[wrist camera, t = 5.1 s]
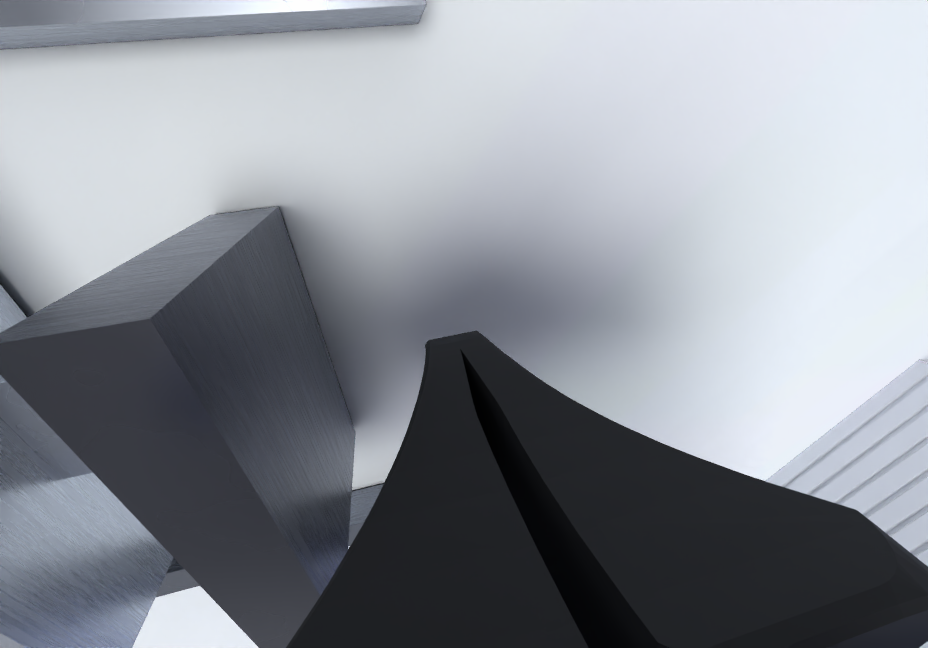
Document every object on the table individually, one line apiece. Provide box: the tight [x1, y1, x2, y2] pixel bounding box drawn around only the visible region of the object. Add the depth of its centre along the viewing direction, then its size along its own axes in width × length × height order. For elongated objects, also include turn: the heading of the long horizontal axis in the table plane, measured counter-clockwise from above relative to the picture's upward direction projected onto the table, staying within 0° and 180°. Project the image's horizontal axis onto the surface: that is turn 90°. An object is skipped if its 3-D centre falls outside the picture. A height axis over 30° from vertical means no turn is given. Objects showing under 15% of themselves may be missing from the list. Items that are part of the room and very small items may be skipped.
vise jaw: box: [0, 206, 355, 648], centre depth 8 cm, size 13×10×6 cm
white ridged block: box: [766, 359, 928, 648], centre depth 22 cm, size 32×11×11 cm, turn 145°
